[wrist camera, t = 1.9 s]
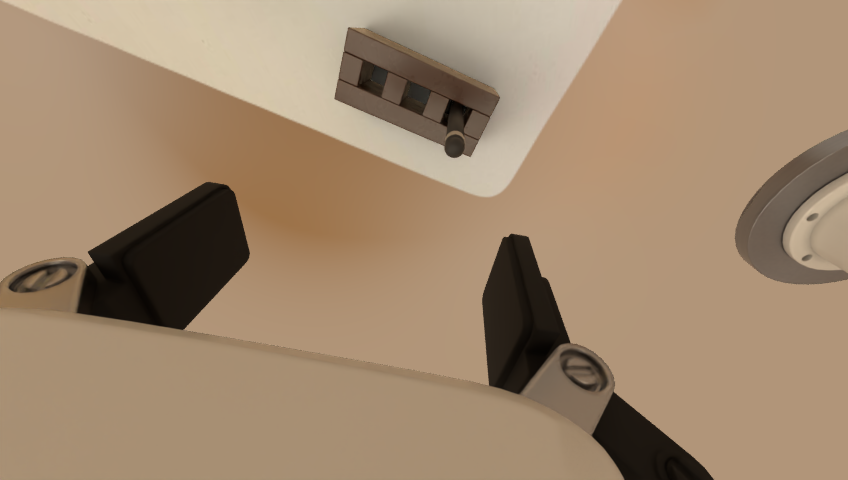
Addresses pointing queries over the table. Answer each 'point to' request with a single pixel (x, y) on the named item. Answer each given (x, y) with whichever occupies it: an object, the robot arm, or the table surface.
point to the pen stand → (404, 70)
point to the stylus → (455, 131)
